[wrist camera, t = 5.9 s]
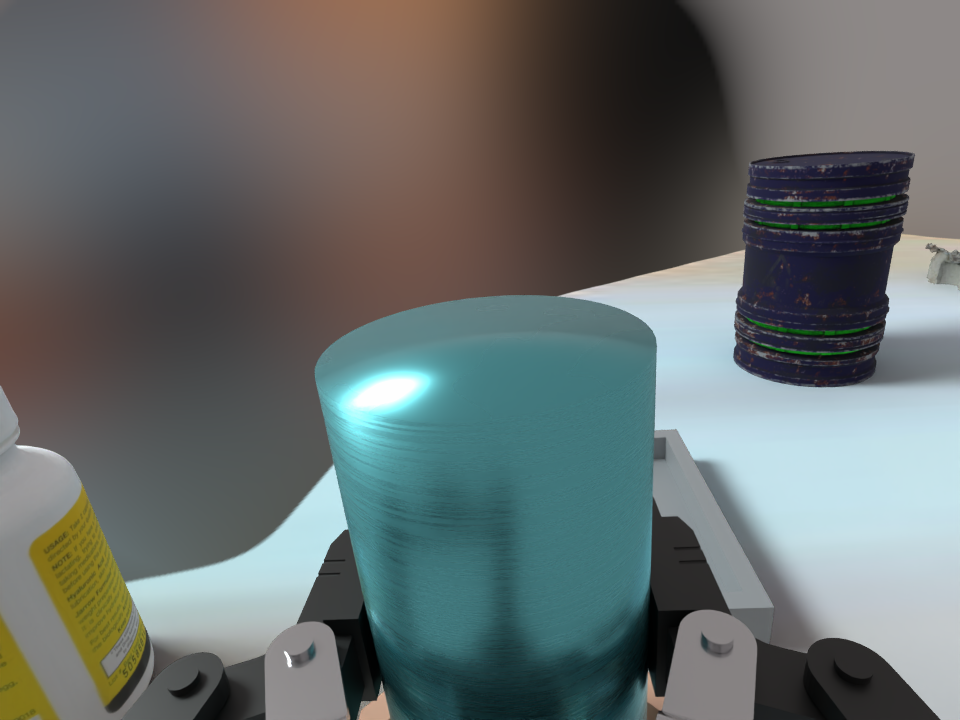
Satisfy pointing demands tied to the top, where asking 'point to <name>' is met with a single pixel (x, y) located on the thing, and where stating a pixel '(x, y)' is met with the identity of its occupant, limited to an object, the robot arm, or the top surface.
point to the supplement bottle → (61, 596)
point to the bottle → (500, 504)
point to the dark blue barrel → (818, 264)
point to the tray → (709, 532)
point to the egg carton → (944, 267)
